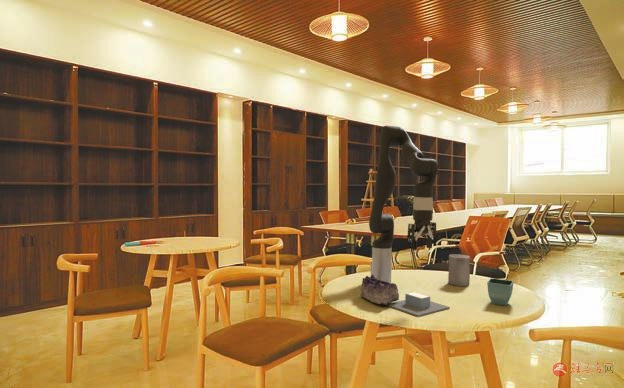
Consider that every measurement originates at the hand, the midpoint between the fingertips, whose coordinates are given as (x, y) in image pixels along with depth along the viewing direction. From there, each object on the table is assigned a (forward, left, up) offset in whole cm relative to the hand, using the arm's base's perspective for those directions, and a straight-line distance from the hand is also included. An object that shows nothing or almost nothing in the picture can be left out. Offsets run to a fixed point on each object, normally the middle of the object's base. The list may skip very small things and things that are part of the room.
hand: (421, 248), depth 161 cm
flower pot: (+18, +27, -22) cm, 39 cm away
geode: (-12, -13, -22) cm, 28 cm away
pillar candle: (-11, +41, -22) cm, 47 cm away
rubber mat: (+3, -5, -22) cm, 23 cm away
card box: (+3, -5, -21) cm, 22 cm away
